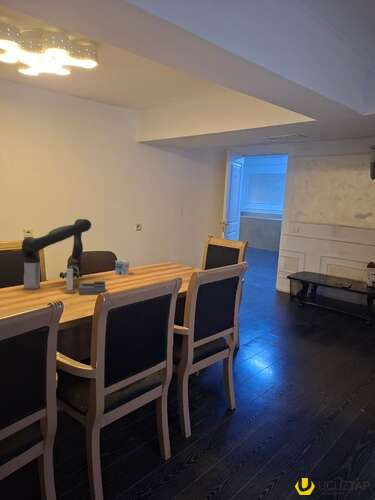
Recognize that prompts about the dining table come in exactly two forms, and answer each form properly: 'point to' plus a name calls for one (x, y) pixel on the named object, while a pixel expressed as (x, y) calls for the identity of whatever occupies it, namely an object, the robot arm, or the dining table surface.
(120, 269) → the light bulb box
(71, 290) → the steel post
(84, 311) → the dining table surface
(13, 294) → the dining table surface
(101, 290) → the keyhole board
